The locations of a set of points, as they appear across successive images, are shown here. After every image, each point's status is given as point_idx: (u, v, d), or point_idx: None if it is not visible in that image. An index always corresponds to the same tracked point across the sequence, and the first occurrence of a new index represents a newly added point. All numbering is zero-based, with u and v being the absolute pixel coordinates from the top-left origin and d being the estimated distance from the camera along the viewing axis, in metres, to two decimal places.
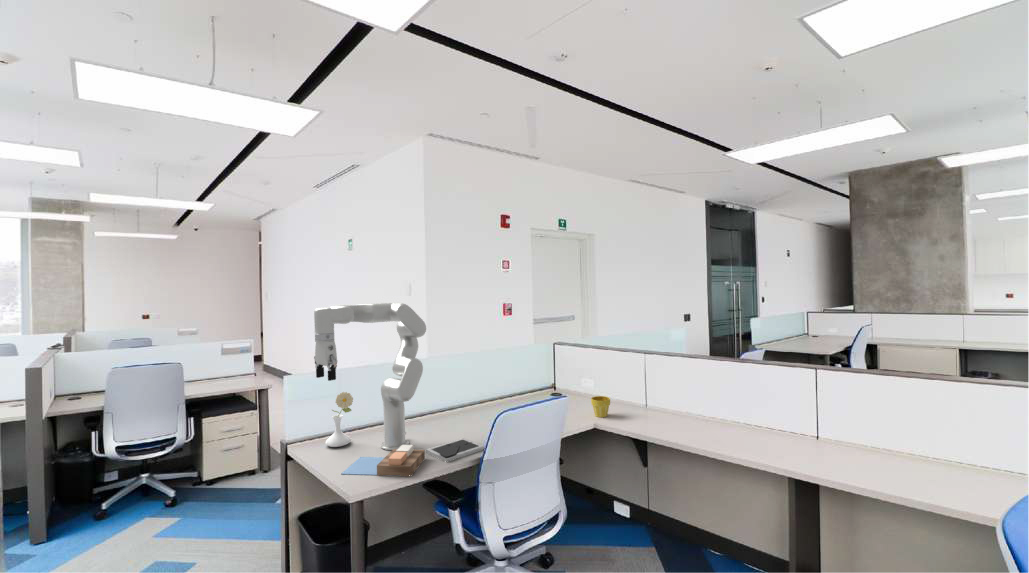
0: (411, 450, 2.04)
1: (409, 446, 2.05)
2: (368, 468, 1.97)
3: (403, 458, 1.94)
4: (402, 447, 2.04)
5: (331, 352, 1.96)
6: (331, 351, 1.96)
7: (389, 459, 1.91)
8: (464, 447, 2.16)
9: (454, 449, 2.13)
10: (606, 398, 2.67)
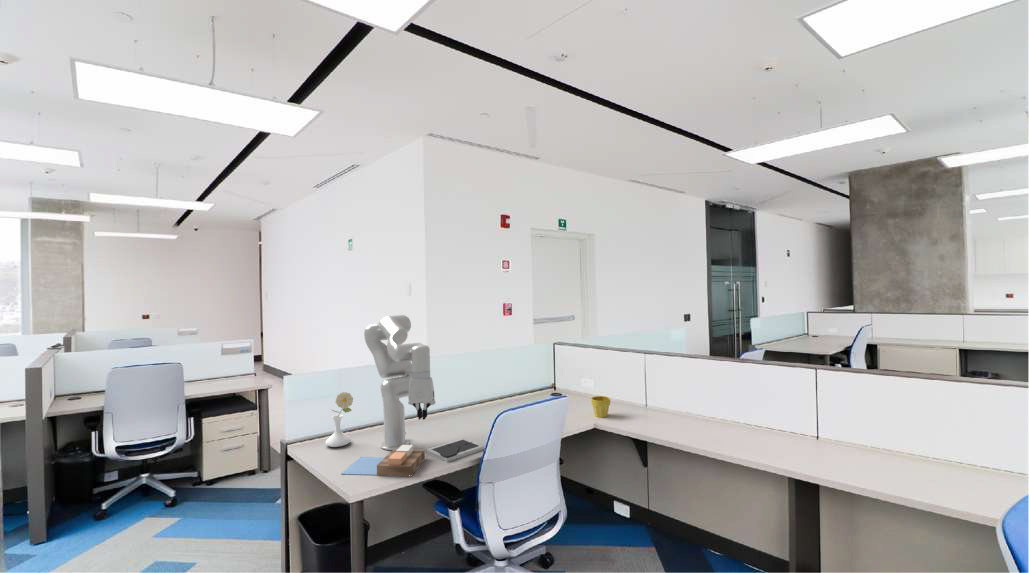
0: (411, 450, 2.04)
1: (409, 446, 2.05)
2: (368, 468, 1.97)
3: (403, 458, 1.94)
4: (402, 447, 2.04)
5: None
6: None
7: (389, 459, 1.91)
8: (465, 447, 2.16)
9: (455, 449, 2.13)
10: (606, 398, 2.67)
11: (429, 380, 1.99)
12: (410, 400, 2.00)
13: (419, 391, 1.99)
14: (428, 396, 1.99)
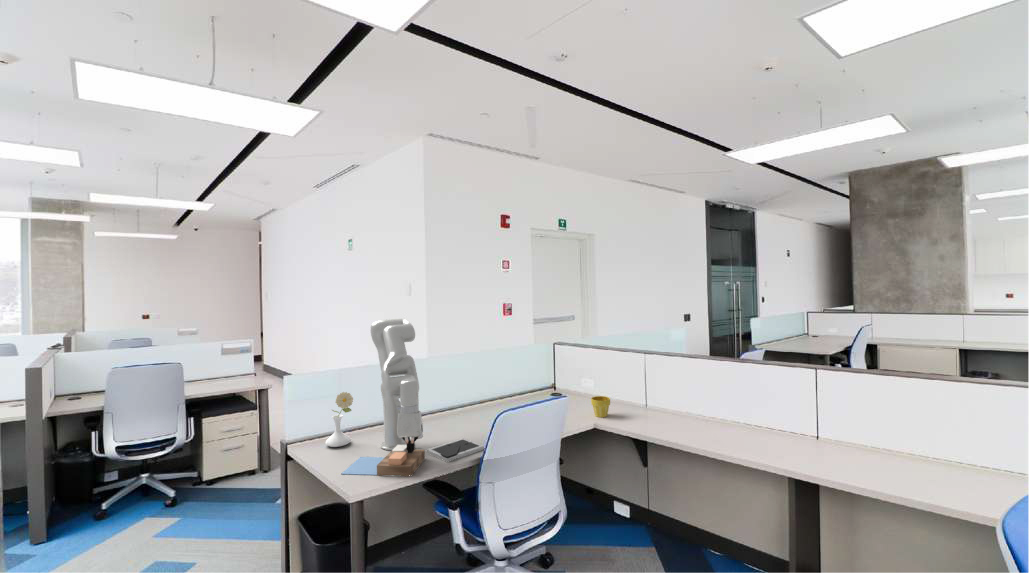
0: (407, 450, 2.04)
1: (405, 446, 2.05)
2: (368, 468, 1.97)
3: (403, 458, 1.94)
4: (397, 447, 2.04)
5: None
6: None
7: (389, 459, 1.91)
8: (465, 446, 2.17)
9: (455, 449, 2.13)
10: (606, 398, 2.67)
11: (417, 414, 2.00)
12: (398, 434, 2.00)
13: (407, 425, 2.00)
14: (416, 430, 2.00)
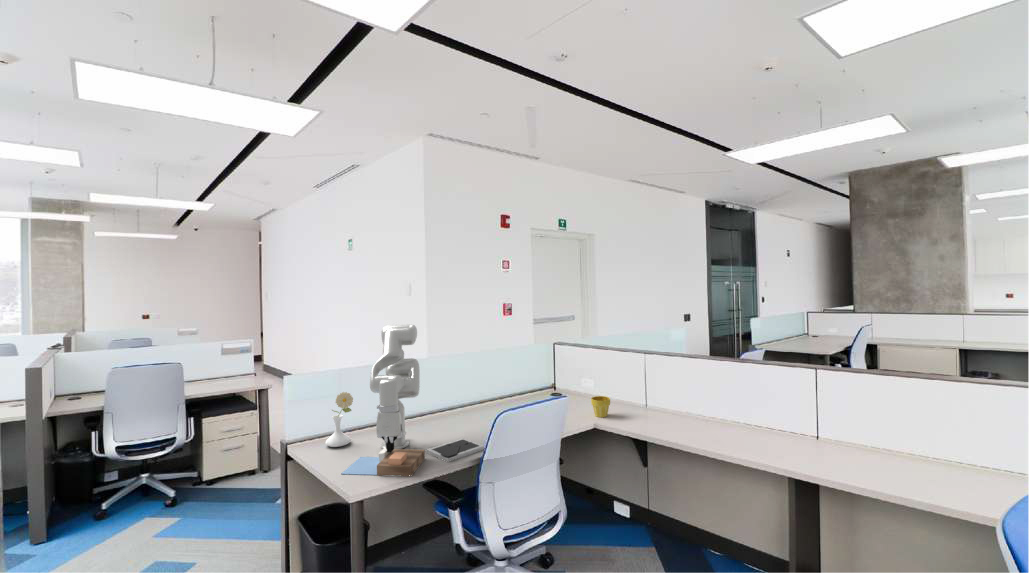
0: (385, 449, 2.05)
1: None
2: (368, 468, 1.97)
3: (403, 458, 1.94)
4: None
5: None
6: None
7: (389, 459, 1.91)
8: (465, 446, 2.17)
9: (455, 449, 2.13)
10: (606, 398, 2.67)
11: (397, 414, 2.01)
12: (378, 433, 2.02)
13: (386, 424, 2.01)
14: (395, 430, 2.01)
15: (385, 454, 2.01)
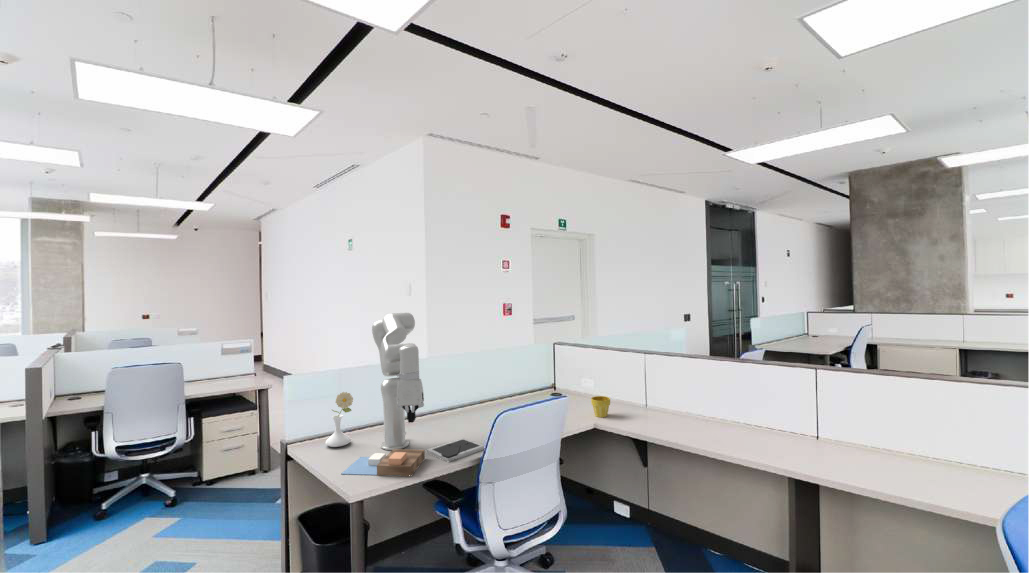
0: None
1: None
2: (368, 468, 1.97)
3: (403, 458, 1.94)
4: None
5: None
6: None
7: (389, 459, 1.91)
8: (465, 446, 2.17)
9: (455, 449, 2.13)
10: (606, 398, 2.67)
11: (418, 381, 1.92)
12: (398, 402, 1.92)
13: (407, 393, 1.92)
14: (417, 398, 1.91)
15: (371, 458, 2.02)
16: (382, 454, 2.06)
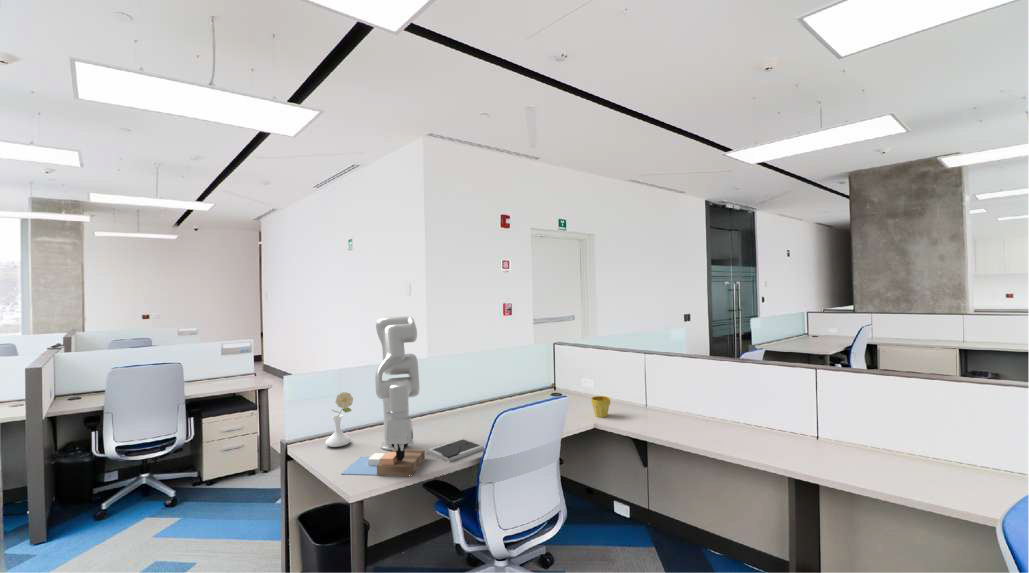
0: None
1: None
2: (368, 468, 1.97)
3: (396, 458, 1.95)
4: None
5: None
6: None
7: (381, 459, 1.92)
8: (465, 446, 2.17)
9: (456, 448, 2.13)
10: (606, 398, 2.67)
11: (407, 420, 1.92)
12: (387, 441, 1.92)
13: (396, 431, 1.92)
14: (406, 437, 1.91)
15: (371, 458, 2.02)
16: (382, 454, 2.06)
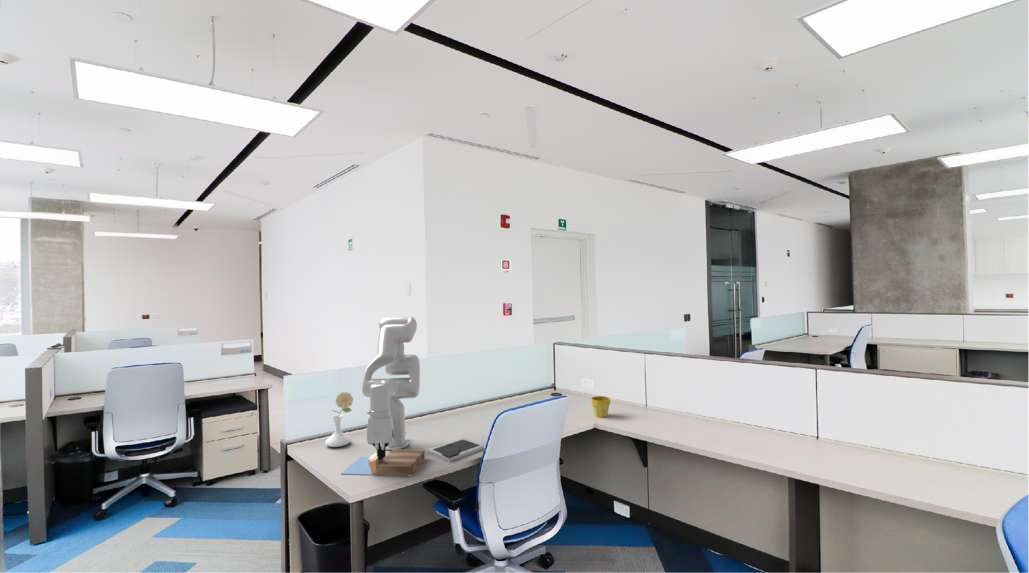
0: None
1: None
2: (368, 468, 1.97)
3: (375, 457, 1.95)
4: None
5: None
6: None
7: (372, 472, 1.92)
8: (466, 446, 2.17)
9: (456, 448, 2.13)
10: (606, 398, 2.67)
11: (388, 419, 1.93)
12: (368, 440, 1.93)
13: (377, 431, 1.93)
14: (387, 436, 1.92)
15: (371, 458, 2.02)
16: None
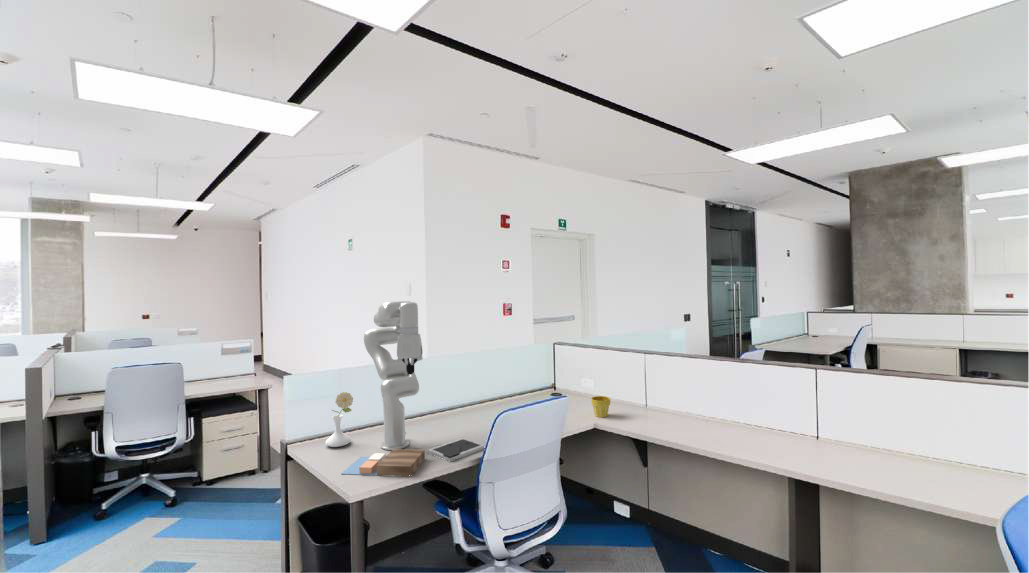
0: None
1: None
2: None
3: None
4: None
5: None
6: None
7: (370, 472, 1.92)
8: (466, 446, 2.17)
9: (456, 448, 2.13)
10: (606, 398, 2.67)
11: (417, 336, 2.03)
12: (398, 355, 2.04)
13: (407, 346, 2.03)
14: (416, 351, 2.03)
15: (371, 458, 2.02)
16: (382, 454, 2.06)
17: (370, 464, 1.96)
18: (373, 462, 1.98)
